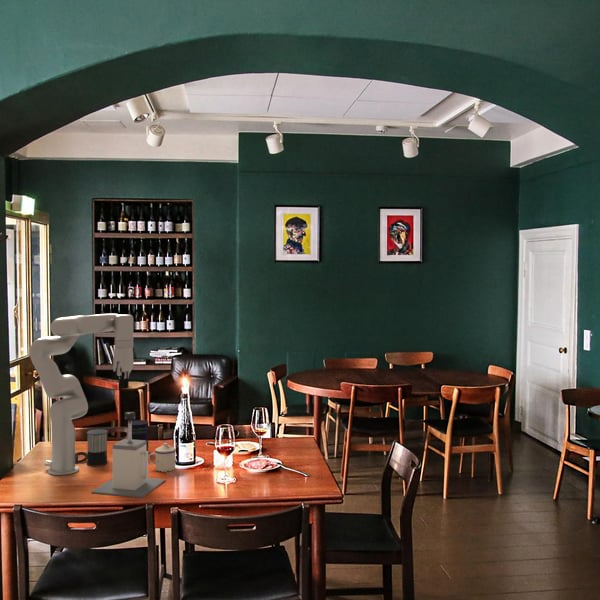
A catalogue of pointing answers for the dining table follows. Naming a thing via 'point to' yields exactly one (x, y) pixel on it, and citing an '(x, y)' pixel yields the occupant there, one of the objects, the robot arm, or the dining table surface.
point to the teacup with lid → (164, 458)
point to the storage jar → (140, 431)
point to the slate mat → (140, 492)
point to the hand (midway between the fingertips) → (124, 388)
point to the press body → (129, 464)
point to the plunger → (129, 424)
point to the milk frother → (95, 448)
